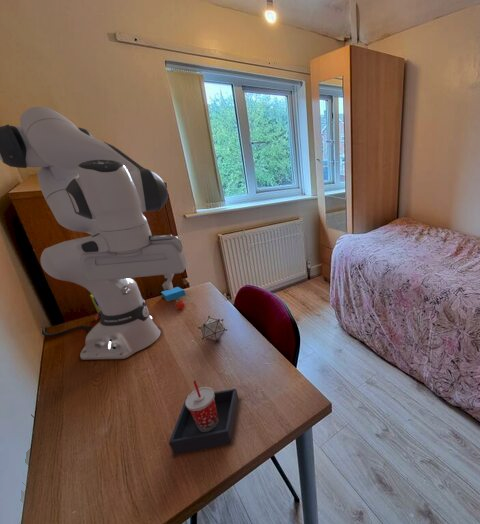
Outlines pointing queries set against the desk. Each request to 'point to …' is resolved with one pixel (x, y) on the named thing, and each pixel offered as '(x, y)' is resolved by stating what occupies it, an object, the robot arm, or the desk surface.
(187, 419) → the tote
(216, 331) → the game die
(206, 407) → the beverage cup
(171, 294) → the lever
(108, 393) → the desk surface
